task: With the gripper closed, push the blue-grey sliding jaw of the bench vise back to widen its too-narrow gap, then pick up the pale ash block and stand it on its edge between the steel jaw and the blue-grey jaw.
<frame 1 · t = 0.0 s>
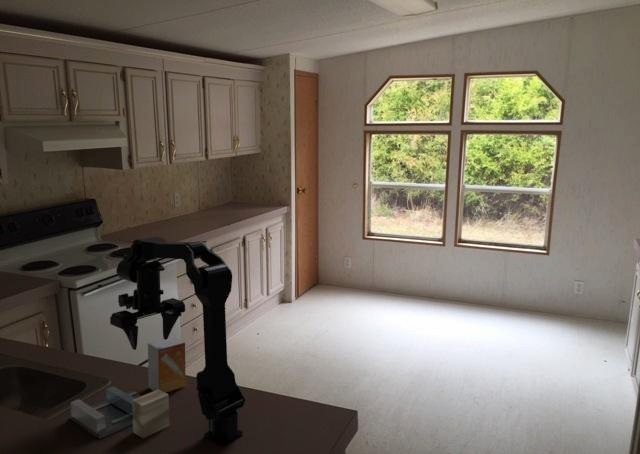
hand: (150, 344, 132), 15 cm above the countertop, tool pointing down, fingers open, 9 cm apart
vise bed: (116, 415, 125), on the countertop
ash block: (151, 429, 119), on the countertop
sliding jaw: (123, 400, 126), point 3 cm above the countertop, slide at 0.0 cm
small box: (167, 387, 140), on the countertop
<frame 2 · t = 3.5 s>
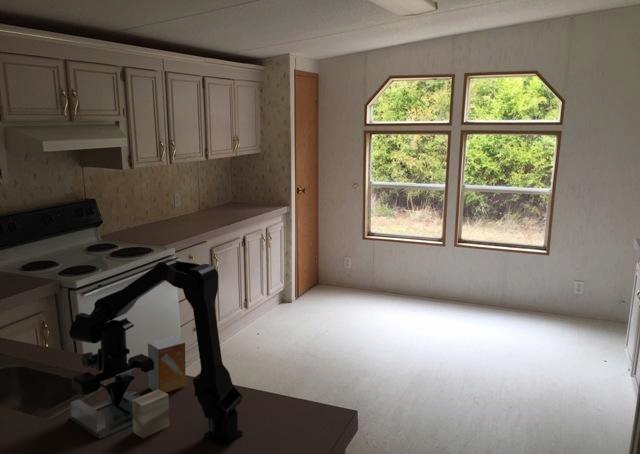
hand: (116, 405, 124), 2 cm above the countertop, tool pointing down, fingers closed
sliding jaw: (124, 400, 126), point 3 cm above the countertop, slide at 0.5 cm, touching gripper
everything else where it was.
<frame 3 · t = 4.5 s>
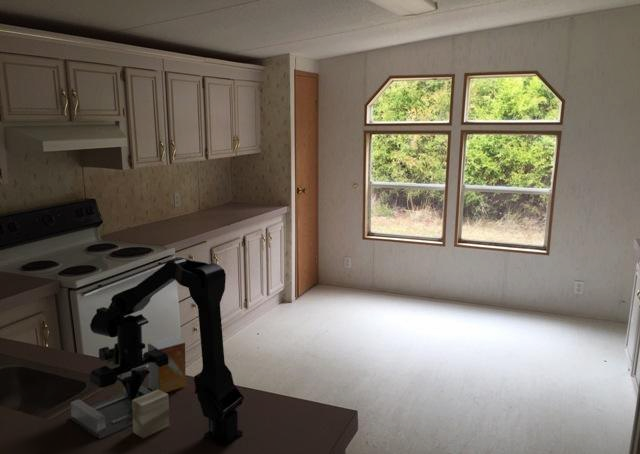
hand: (131, 399, 128), 2 cm above the countertop, tool pointing down, fingers closed
sliding jaw: (140, 393, 130), point 3 cm above the countertop, slide at 4.8 cm, touching gripper
everything else where it was.
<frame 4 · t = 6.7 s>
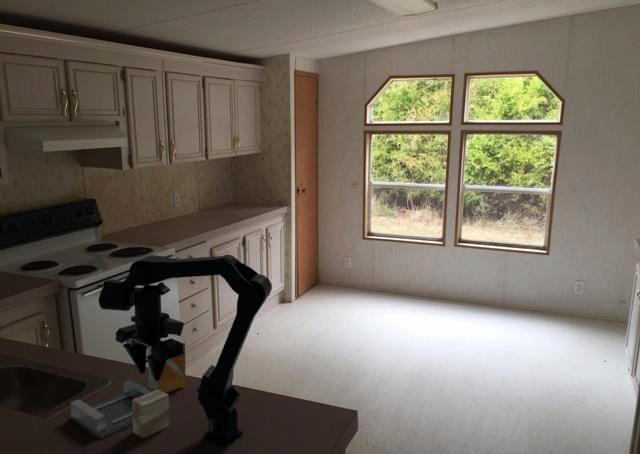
hand: (149, 376, 117), 13 cm above the countertop, tool pointing down, fingers open, 6 cm apart
sliding jaw: (140, 393, 130), point 3 cm above the countertop, slide at 4.8 cm
everything else where it was.
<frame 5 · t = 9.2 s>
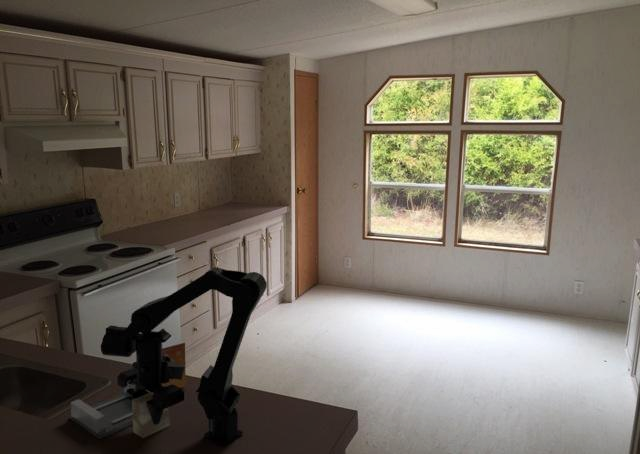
hand: (151, 420, 119), 2 cm above the countertop, tool pointing down, fingers closed on ash block, 4 cm apart
ash block: (151, 428, 119), on the countertop, touching gripper
everything else where it was.
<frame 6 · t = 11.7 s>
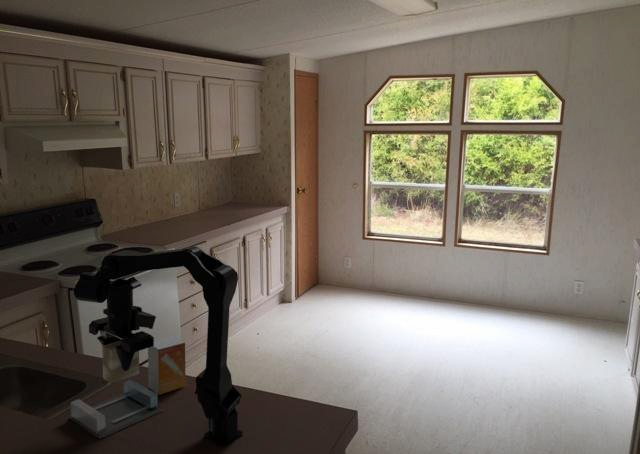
hand: (121, 367, 121), 13 cm above the countertop, tool pointing down, fingers closed on ash block, 4 cm apart
ash block: (121, 375, 121), point 11 cm above the countertop, touching gripper
everything else where it was.
when the fingers open (3 cm above the countertop, at t = 14.6 s): ash block stays where it is, resting on vise bed.
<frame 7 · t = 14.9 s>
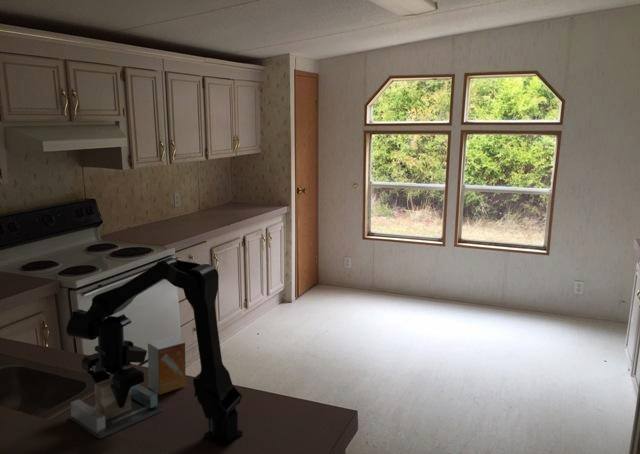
hand: (113, 402, 124), 3 cm above the countertop, tool pointing down, fingers open, 7 cm apart
ash block: (114, 412, 124), point 1 cm above the countertop, touching vise bed
everything else where it was.
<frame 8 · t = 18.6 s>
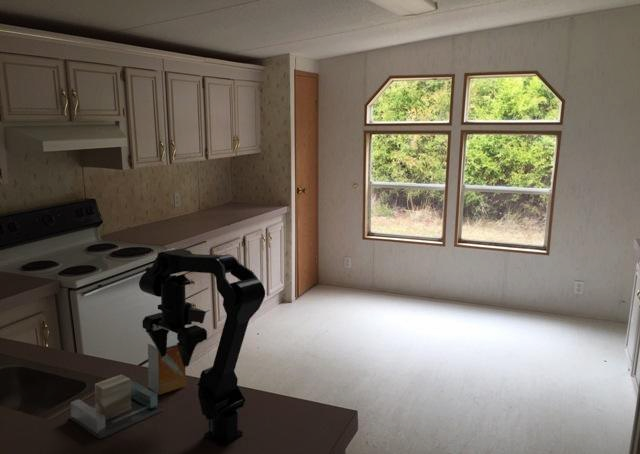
hand: (174, 361, 126), 13 cm above the countertop, tool pointing down, fingers open, 9 cm apart
nothing on the countertop moved.
at the end: ash block 0.1 cm from the target spot, point 1.0 cm above the countertop; ash block tilted 0°; sliding jaw slide at 4.8 cm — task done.
